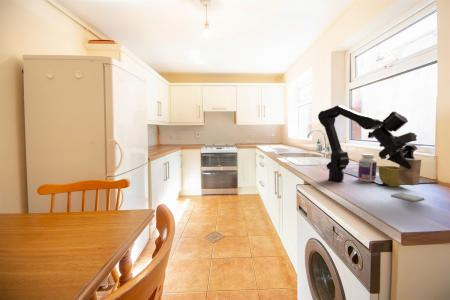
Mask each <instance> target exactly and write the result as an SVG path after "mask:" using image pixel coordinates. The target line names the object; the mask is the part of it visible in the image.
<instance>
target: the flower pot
mask: <svg viewBox="0 0 450 300" xmlns="http://www.w3.org/2000/svg"><path fill="white" fill-rule="evenodd" d="M378 174H379V179H380V182H381V183H382V184H383V183H385V184H384V185H386V184H387V185H386V186H388V185H389V187H400V186H402V185H403V184H402V183H398V175H399V166H396V165H395V166H393V165H378Z"/></svg>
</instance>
